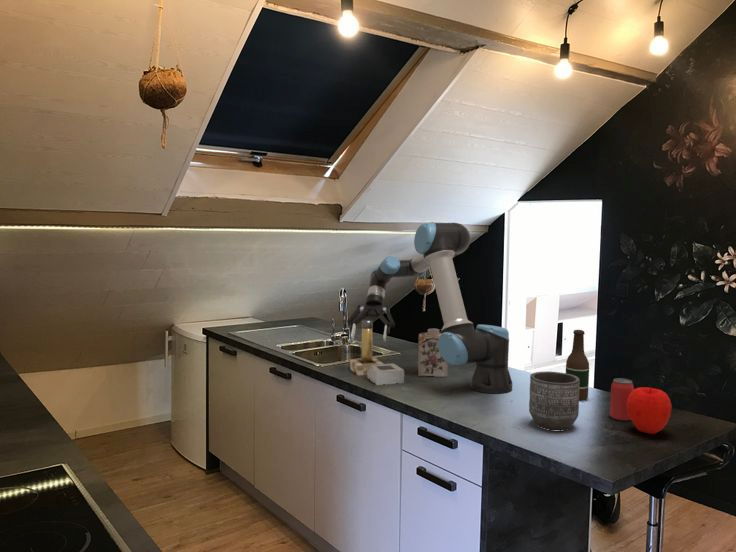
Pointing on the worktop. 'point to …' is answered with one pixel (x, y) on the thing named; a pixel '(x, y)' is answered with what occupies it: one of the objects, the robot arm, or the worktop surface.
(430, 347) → the decorative jar
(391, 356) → the worktop surface
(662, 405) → the apple
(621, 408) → the beer can
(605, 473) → the worktop surface
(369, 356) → the yellow glass cylinder
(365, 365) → the rack block
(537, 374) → the planter
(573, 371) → the beer bottle
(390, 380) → the socket block
